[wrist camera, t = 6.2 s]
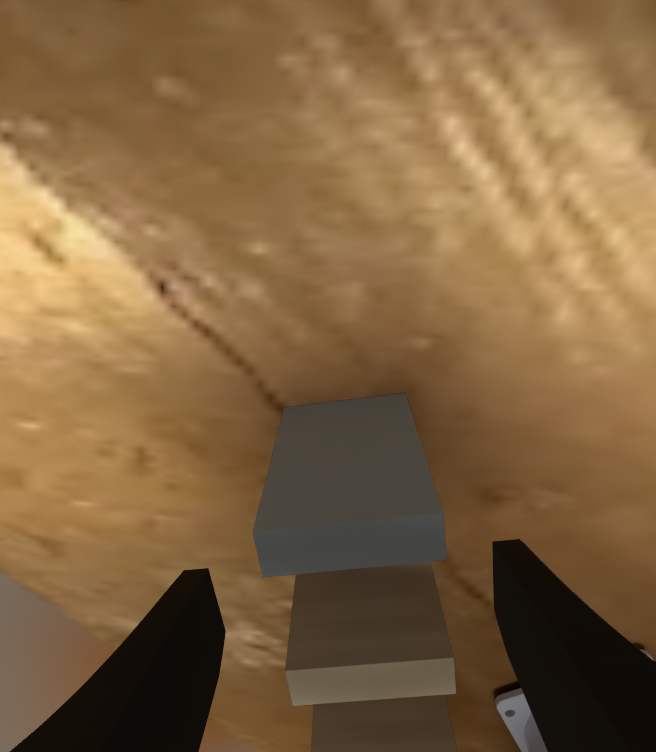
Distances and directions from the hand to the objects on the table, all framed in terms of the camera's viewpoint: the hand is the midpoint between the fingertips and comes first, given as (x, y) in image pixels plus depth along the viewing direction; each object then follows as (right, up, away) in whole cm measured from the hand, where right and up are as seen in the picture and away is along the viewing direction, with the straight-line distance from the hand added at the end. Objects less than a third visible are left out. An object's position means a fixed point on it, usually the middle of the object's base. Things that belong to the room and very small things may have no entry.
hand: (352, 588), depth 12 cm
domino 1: (0, +3, +9) cm, 9 cm away
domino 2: (+1, -1, +11) cm, 11 cm away
